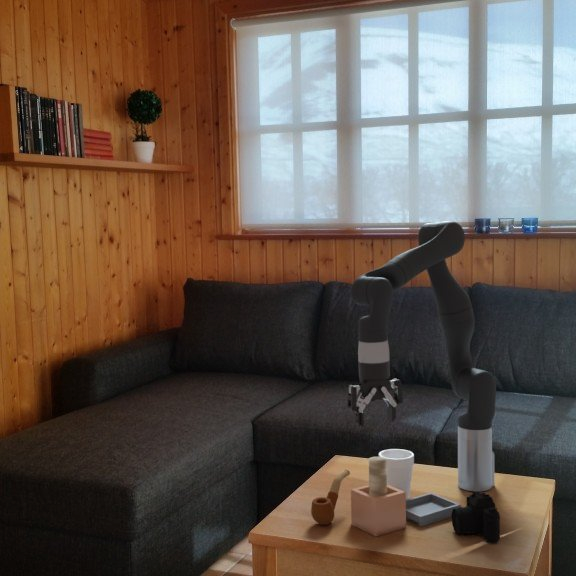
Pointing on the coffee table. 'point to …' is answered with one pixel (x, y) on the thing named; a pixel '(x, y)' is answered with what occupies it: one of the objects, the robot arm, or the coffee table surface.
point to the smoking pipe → (327, 502)
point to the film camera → (478, 517)
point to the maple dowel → (377, 476)
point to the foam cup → (399, 468)
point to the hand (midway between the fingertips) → (375, 424)
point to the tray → (429, 509)
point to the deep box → (378, 510)
